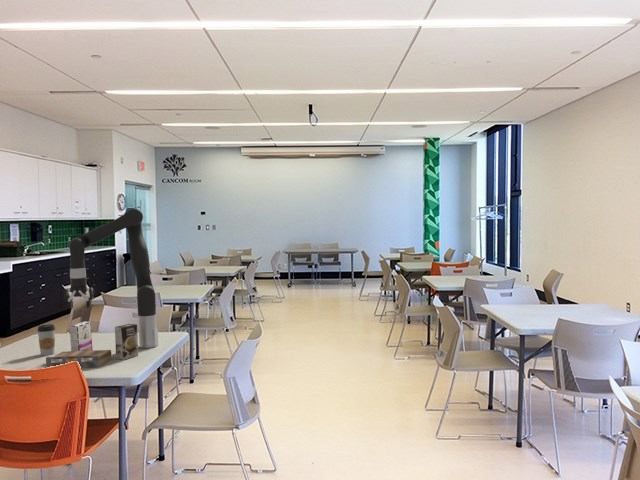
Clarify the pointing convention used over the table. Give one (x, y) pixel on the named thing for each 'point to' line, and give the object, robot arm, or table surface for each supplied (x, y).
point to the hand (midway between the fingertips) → (79, 308)
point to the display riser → (80, 358)
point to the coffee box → (126, 341)
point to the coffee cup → (46, 339)
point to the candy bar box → (81, 337)
